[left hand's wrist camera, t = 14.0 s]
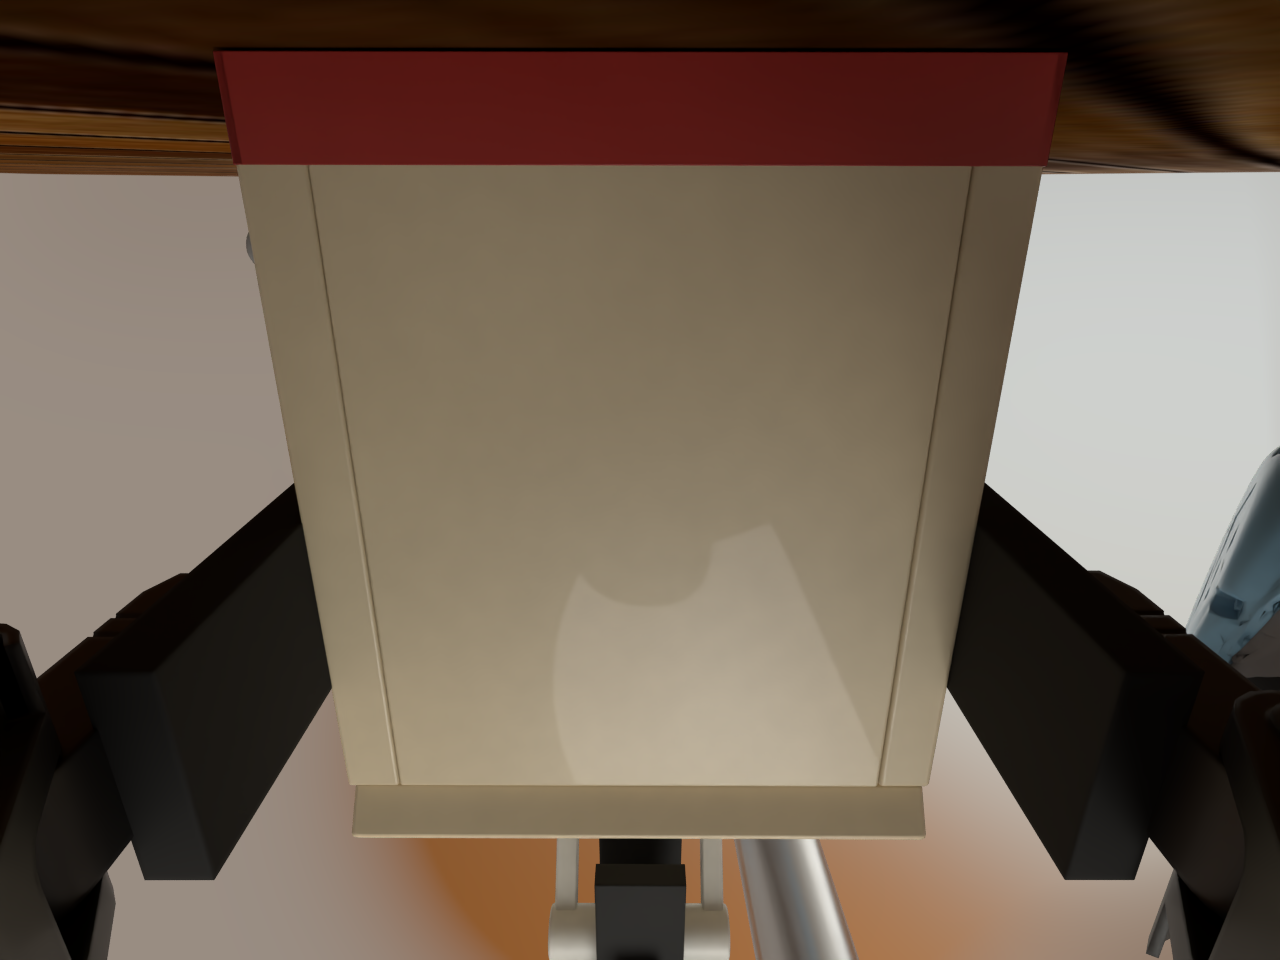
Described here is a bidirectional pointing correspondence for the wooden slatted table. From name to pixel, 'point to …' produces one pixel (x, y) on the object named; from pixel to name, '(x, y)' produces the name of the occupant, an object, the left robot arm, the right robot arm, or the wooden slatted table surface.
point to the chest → (639, 395)
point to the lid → (638, 832)
